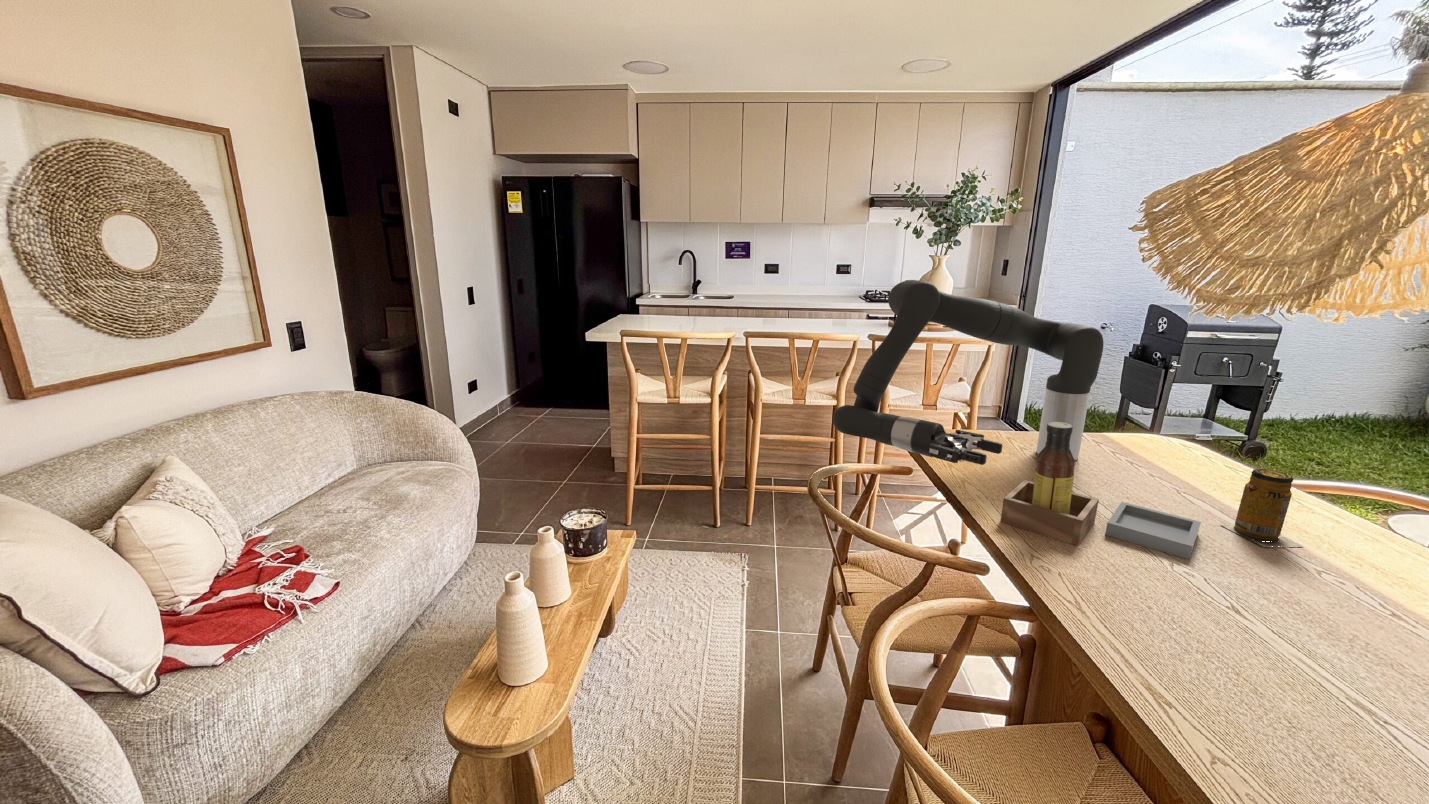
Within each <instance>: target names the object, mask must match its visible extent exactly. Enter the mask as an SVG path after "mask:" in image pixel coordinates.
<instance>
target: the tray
mask: <svg viewBox="0 0 1429 804" xmlns="http://www.w3.org/2000/svg"><path fill="white" fill-rule="evenodd" d="M1201 522H1202V521H1200V520H1195V519H1191V518H1188V517H1184V516H1180V515H1175V514H1172V513H1167V512H1163V511H1160V510H1156V509H1151V508H1148V507H1144V506H1140V505H1136V504H1133V503H1132V504H1131V503H1128V502H1124V501H1121V502H1119V505H1118V506H1117V508H1116V509H1115V511H1114V512H1113V514H1112V515H1111V517H1109V519H1108V521H1107V522H1106V528H1105V533H1104V534H1105V536H1108V537H1111V538H1114V539H1118V540H1122V541H1125V542H1129V543H1132V544H1136V545H1138V546H1142V547H1145V548H1149V549H1153V550H1156V551H1159V552H1163V553H1166V554H1169V555H1174V556H1176V557H1180V558H1183V559H1186V560H1190V558H1191V555H1192V553H1193V550H1194V546H1195V544H1196V540H1197V538H1198V535H1199V530H1200V527H1201Z"/></svg>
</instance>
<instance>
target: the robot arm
mask: <svg viewBox="0 0 1429 804" xmlns="http://www.w3.org/2000/svg"><path fill="white" fill-rule="evenodd" d="M887 298H888V299H887V300H888V301H887V302H888V306H889V308H890V310H891V311H892V312H893V314H895V316H896V318H895V319H894V320H895V321H894V323H893V325H892V327H891V329H890V331H889V332H888V334H887V335H886V337H885V338H884V340H883V341H882V342H881V343H880V344H879V345H878V347H877V348H876V349H875V350H874V352H872V354H871V355H870V356H869V357H868V359H867V361H866V362H865V364H864V366H863V367H862V370H861V371H860V373H859V375H858V377H857V380H856V381H855V384H854V385H853V392H854V394H855V395H856V397H855V400H854V404H853V405H851V404H845V405H841V406H840V407H838V408H837V409H836V410H835V411H834V413H833V415H832V423H833V426H834V428H835V429H836V430H837V431H838V432H840V433H841V434H845V435H849V436H853V437H858V438H865V439H868V440H872V441H875V442H877V443H881V444H885V445H888V446H892V447H896V448H898V449H901V450H903V451H907V452H911V453H915V454H919V455H923V456H926V457H931V458H935V459H939V460H942V461H944V462H949V463H953V464H958V463H959V462H962V463H963V462H965V461H966V462H969V463H973V464H977V465H980V466H984V465H985V464H986V463H987V456H988V455H987V454H986V453H983V452H979V451H975V450H981V451H984V452H987V453H989V452H990V453H991V454H992V453H993V454H997V455H1000V454H1001V453H1002V451H1003V443H1001V442H997V441H992V440H989V439H985V435H984V434H981V433H975V432H972V431H964V430H960V429H955V432H948V433H947V432H946V431H945V427H944V425H942V424H941V423H939V422H933V421H929V420H926V419H921V418H916V417H908V416H902V415H901V416H900V415H895V414H893V413H885V412H879V408H880V403H881V400H882V397H883V396H884V394H885V392H886V390H887V388H888V386H889V384H891V383H890V382H891V381H892V378H893V376H894V375H895V373H896V371H897V369H898V368H899V366H900V364H901V362H902V361H903V359H904V358H905V356H906V354H907V353H908V352H909V350H910V349H911V347H912V346H913V344H914V343H915V341H916V340H917V338H918V337H919V335H921V332H922V331H923V330H924V329H925V327H926V326H927V325H928V323H935V324H938V325H941V326H944V327H946V328H949V329H951V330H955V331H956V332H958V333H961V334H964V335H968V336H970V337H973V338H976V339H979V340H982V341H986V342H990V343H995V344H999V345H1006V346H1020V347H1026V348H1029V349H1033V350H1036V351H1038V352H1040V353H1043V354H1044V355H1047V356H1050V357H1052V358H1054V359H1056V360H1060V361H1061V366H1060V369H1059V372H1057V374H1052V375H1049V376H1048V377H1047V379H1046V386H1045V392H1044V398H1043V405H1042V411H1041V418H1040V424H1039V430H1038V431H1039V432H1038V437H1037V443H1036V450H1035V451H1036V454H1037V455H1038V454H1039V453H1040V452H1041V451H1042V449H1043V448H1044V447H1045V446H1046V445H1045V444H1046V441H1047V424H1048V423H1050V422H1063V423H1067V424H1070V425H1072V426H1073V430H1072V434H1071V437H1070V443H1069V445H1070V447H1069V448H1070V451H1071V453H1072V456H1073V458H1074V460H1075V461H1077V460H1078V459H1079V456H1080V450H1081V445H1082V439H1083V436H1084V435H1083V434H1084V428H1085V422H1086V418H1087V417H1086V416H1087V412H1088V411H1087V410H1088V405H1089V400H1090V393H1091V388H1092V386H1093V384H1094V383H1095V381H1096V380H1097V377H1098V374H1099V369H1100V365H1101V360H1102V356H1103V351H1104V337H1103V334H1102V332H1101V331H1100V330H1098V329H1097V328H1095V327H1093V326H1090V325H1089V326H1088V325H1084V324H1079V323H1073V322H1064V321H1063V322H1062V321H1053V320H1049V319H1042V318H1038V317H1035V316H1033V315H1031V314H1029V313H1028V312H1026V311H1025V310H1024V311H1023V310H1022V309H1020V308H1018V307H1015V306H1013V305H1009V304H1005V303H1002V302H999V301H994V300H989V299H985V298H980V297H972V296H966V295H965V296H963V295H955V294H950V293H947V292H943V291H939V289H938V288H937V286H936V285H934V284H933V283H931V282H929V281H925V280H918V279H907V280H904V281H901V282H899V283H897V284H896V285H894V286H893V287H892V288H891V289H890V291H889V293H888V297H887Z"/></svg>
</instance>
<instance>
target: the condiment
mask: <svg viewBox="0 0 1429 804" xmlns="http://www.w3.org/2000/svg"><path fill="white" fill-rule="evenodd" d="M1293 482H1294V478H1293V477H1292V476H1291V475H1290V474H1288V473H1286V472H1283V471H1280V470H1276V469H1270V468H1254V469H1253V470H1252V471H1251V474H1250V477H1249V481H1247V482H1246V483H1245V485H1244V487H1243V492H1242V497H1241V499H1240V503H1239V507H1238V509H1237V514H1236V517H1235V520H1234V523H1219V525H1220V526H1222V527H1223V528H1226V529H1227V530H1229V531H1231V532H1233V533H1235V534H1237V535H1239V536H1240V537H1244V538H1246V539H1247V540H1249V541H1251V542H1253V543H1255V544H1258V545H1259V546H1261V547H1263V548H1270V549H1271V548H1277V549H1279V548H1286V549H1288V548H1299V547H1300V548H1301V547H1303V548H1304V545H1301V544H1300V543H1298V542H1295V541H1294V540H1293V539H1289V538H1287V537H1285V536H1283V535H1282V534H1281V532H1282V530H1283V529H1282V528H1283V526H1284V523H1285V519H1286V516H1287V512H1288V509H1289V506H1290V502H1291V498H1292V495H1293V493H1292V491H1291V489H1292V487H1293V485H1292V483H1293ZM1278 537H1279V538H1278ZM1279 540H1280V541H1281V542H1280V541H1279ZM1262 541H1265V542H1262ZM1266 541H1270V542H1266ZM1271 541H1272V542H1271ZM1278 541H1279V542H1278ZM1271 546H1273V547H1271ZM1278 546H1280V547H1278ZM1281 546H1282V547H1281Z"/></svg>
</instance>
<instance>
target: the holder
mask: <svg viewBox="0 0 1429 804" xmlns="http://www.w3.org/2000/svg"><path fill="white" fill-rule="evenodd" d="M1033 490H1034V481H1030V480H1026V479H1023V480H1022V482H1021V483H1019V484H1018V485H1017V486H1016V487H1015V488H1014V489H1013V490H1011V491H1010V492H1009V493H1008V494H1007V495H1006V496H1004V497H1003V501H1002V508H1001V509H1002V510H1001V514H1000V523H1004V524H1006V525H1009V526H1013V527H1016V528H1019V529H1022V530H1025V531H1028V532H1029V531H1030V532H1031V533H1035V534H1038V535H1041V536H1044V537H1045V536H1046V537H1048V538H1051V539H1054V540H1058V541H1059V542H1060V541H1061V542H1064V543H1067V544H1070V545H1073V546H1076V547H1078V546H1079V545H1080V544H1081V542H1082V541H1083V540H1084V538H1085V536H1086V535H1087V534H1088V533H1089V531H1090V529H1092V527H1093V526H1094V524H1095V523H1096V522H1095V521H1096V516H1097V510H1098V507H1099V501H1100V498H1097V497H1092V496H1089V495H1088V496H1087V495H1085V494H1081V493H1077V492H1073V491H1072V495H1071V503H1070V511H1069V514H1065V513H1062V512H1058V511H1055V510H1051V509H1048V508H1044V507H1041V506H1037V505H1034V504H1032V499H1033Z"/></svg>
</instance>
